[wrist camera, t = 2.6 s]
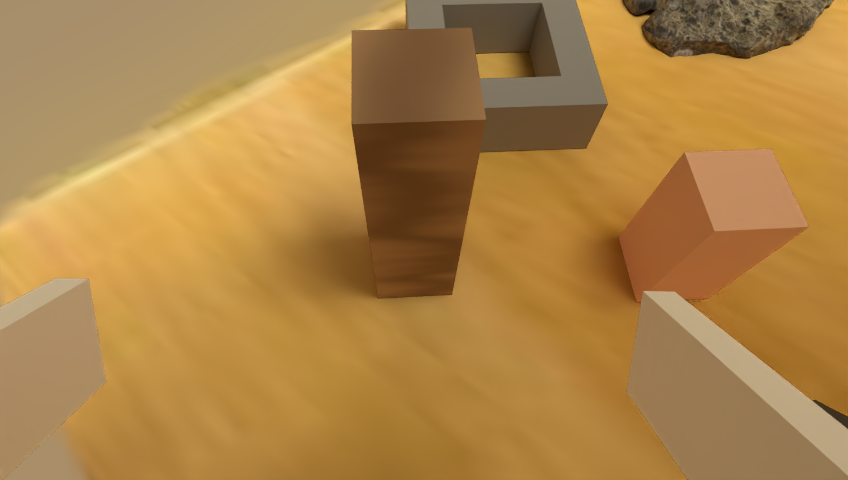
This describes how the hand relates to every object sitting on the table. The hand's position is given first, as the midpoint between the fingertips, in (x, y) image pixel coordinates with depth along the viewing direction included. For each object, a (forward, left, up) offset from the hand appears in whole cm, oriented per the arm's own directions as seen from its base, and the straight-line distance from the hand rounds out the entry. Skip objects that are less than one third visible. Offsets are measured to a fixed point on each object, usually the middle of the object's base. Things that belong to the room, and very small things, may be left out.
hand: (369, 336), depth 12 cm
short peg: (-16, -7, -14) cm, 22 cm away
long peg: (-2, -8, -14) cm, 16 cm away
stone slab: (-27, -30, -14) cm, 43 cm away
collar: (-8, -21, -14) cm, 26 cm away
